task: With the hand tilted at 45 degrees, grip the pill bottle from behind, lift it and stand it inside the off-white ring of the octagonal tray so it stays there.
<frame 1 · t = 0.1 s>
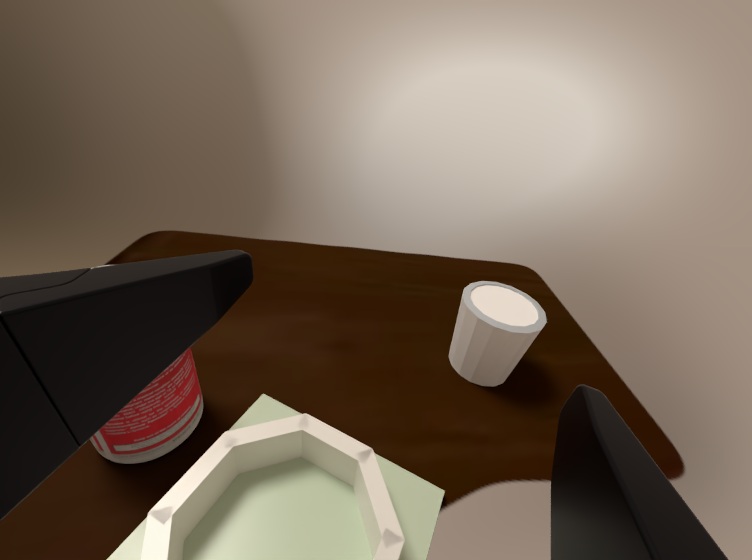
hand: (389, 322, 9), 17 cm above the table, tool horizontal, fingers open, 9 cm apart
octagonal tray: (280, 555, 17), on the table
pill bottle: (154, 423, 23), on the table
shot glass: (477, 363, 31), on the table
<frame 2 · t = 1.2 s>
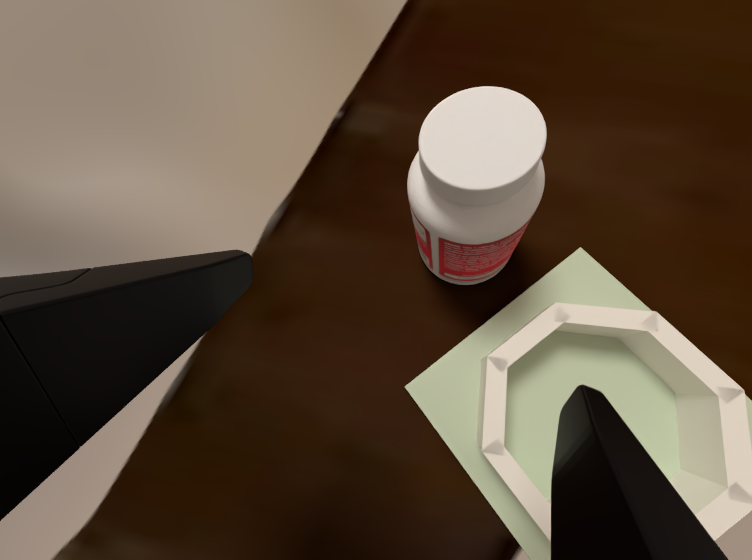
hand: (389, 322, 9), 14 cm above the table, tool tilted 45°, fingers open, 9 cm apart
octagonal tray: (578, 413, 19), on the table
pill bottle: (463, 244, 23), on the table
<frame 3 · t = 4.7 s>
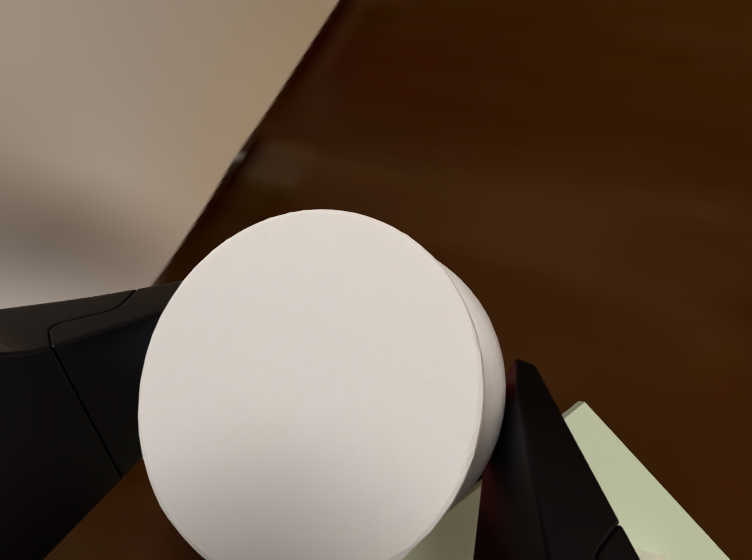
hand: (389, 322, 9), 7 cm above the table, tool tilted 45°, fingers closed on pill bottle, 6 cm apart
pill bottle: (401, 374, 15), on the table, touching gripper
when the fingers open (8 cm above the table, at t = 9.3 s): pill bottle drops 1 cm, resting on octagonal tray.
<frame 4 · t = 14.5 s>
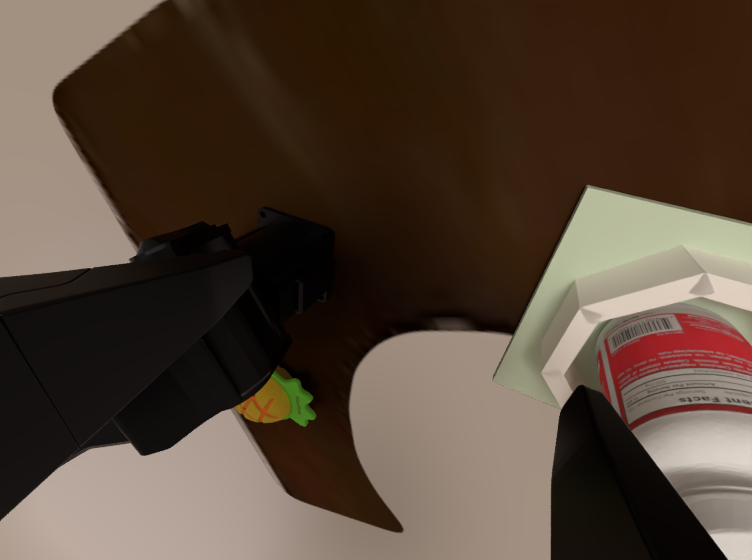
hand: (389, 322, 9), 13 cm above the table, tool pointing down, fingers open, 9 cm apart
octagonal tray: (662, 341, 18), on the table
pill bottle: (660, 345, 18), resting on octagonal tray
toy pineapple: (289, 373, 35), on the table
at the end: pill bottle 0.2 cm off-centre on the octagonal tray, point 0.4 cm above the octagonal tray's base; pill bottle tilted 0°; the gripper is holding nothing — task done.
